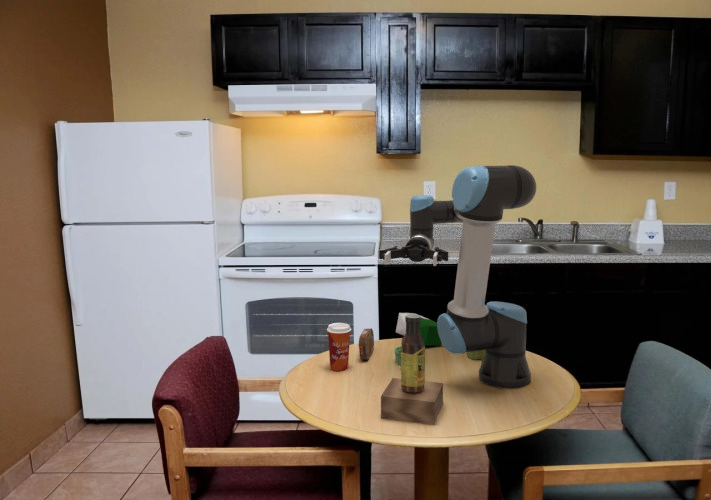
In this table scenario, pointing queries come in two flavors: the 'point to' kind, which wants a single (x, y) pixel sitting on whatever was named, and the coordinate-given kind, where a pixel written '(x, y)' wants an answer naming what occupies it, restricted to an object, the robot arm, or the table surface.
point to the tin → (366, 344)
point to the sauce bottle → (412, 356)
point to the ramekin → (398, 354)
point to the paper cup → (339, 345)
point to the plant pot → (476, 354)
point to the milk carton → (421, 329)
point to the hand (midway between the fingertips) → (409, 260)
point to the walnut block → (412, 403)
